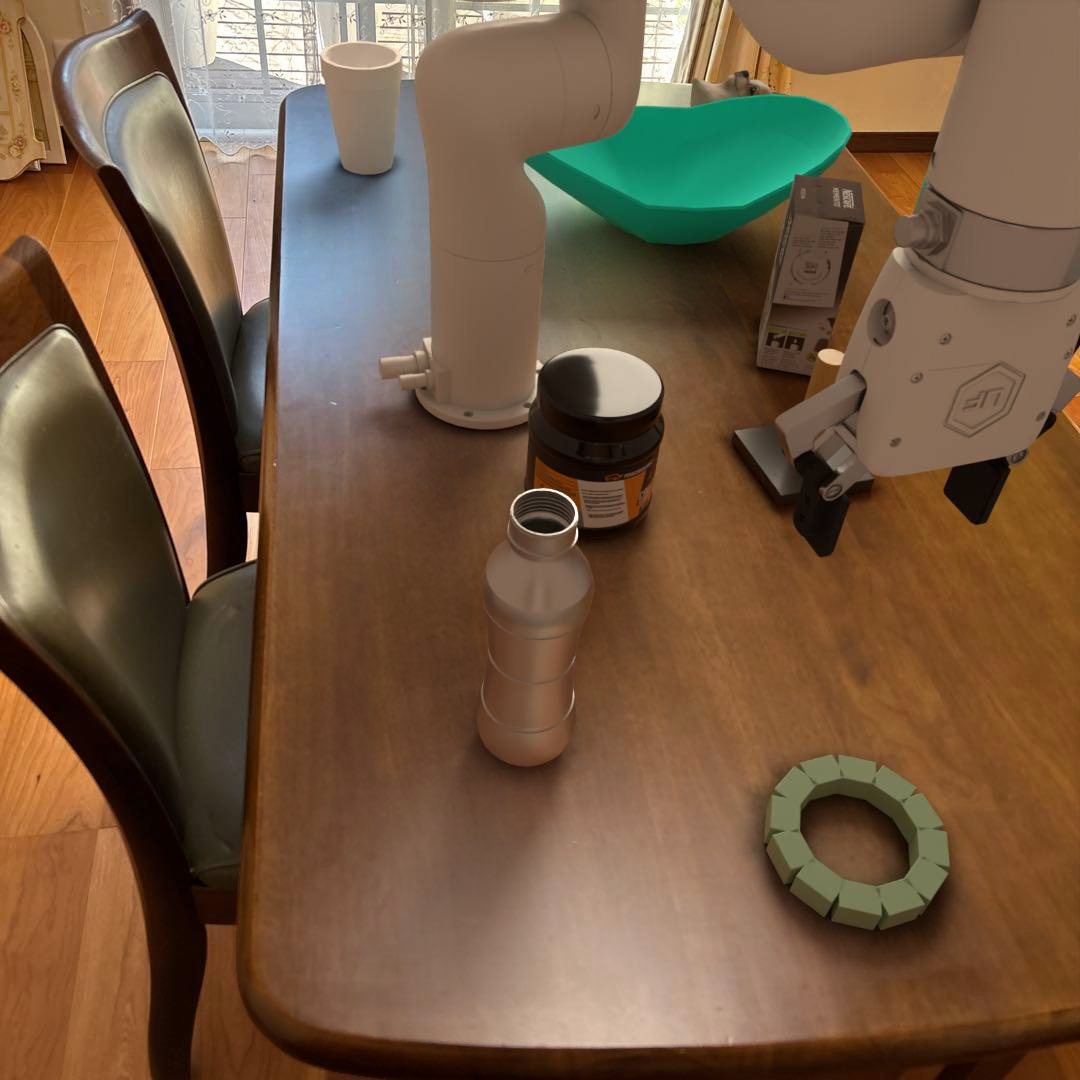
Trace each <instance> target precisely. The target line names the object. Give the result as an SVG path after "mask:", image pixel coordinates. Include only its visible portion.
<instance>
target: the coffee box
mask: <svg viewBox="0 0 1080 1080" xmlns="http://www.w3.org/2000/svg"><path fill="white" fill-rule="evenodd" d="M862 187H863V186H862V182H860V181H855V180H849V179H841V178H834V177H823V176H819V177H811V176H804V175H798V174H795V176H794V181H793V185H792V189H791V193H790V197H789V198H788V202H787V205H786V210H785V214H784V218H783V223H782V227H781V232H780V236H779V240H778V245H777V249H776V253H775V256H774V261H773V266H772V270H771V274H770V278H769V282H768V286H767V292H766V296H765V300H764V303H763V308H762V312H761V316H760V321H759V329H758V340H757V342H758V343H757V355H756V367H758V368H763V369H769V370H775V371H776V370H777V371H781V372H787V373H792V374H797V375H798V374H799V375H805V376H809V377H811V376H812V372H813V369H814V366H815V362H816V359H817V355H818V353H819V352H820V351H821V350H824V349H828V346H829V342H830V339H831V336H832V333H833V330H834V326H835V323H836V320H837V316H838V313H839V310H840V307H841V303H842V301H843V296H844V293H845V290H846V287H847V284H848V280H849V278H850V274H851V270H852V268H853V264H854V261H855V257H856V255H857V252H858V248H859V244H860V241H861V238H862V234H863V231H864V228H865V226H866V215H865V205H864V197H863V189H862Z"/></svg>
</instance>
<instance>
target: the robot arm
mask: <svg viewBox="0 0 1080 1080" xmlns="http://www.w3.org/2000/svg"><path fill="white" fill-rule="evenodd" d="M464 1H465V2H471V3H501V2H512V1H515V0H464ZM558 2H559V3H558V4H559V7H558V8H559V12H553V13H546V14H538V15H531V16H530V15H529V16H526V15H525V16H516V17H509V18H501V19H493V20H485V21H480V22H474V23H468V24H463V25H460V26H458V27H455V28H452V29H449V30H447V31H445V32H442V33H441V34H439V35H437V36H436V37H435V38H433V39H432V40H431V41H430V42H429V43H428V44H427V45H426V47H425V48H424V49H423V50H422V52H421V54H420V56H419V58H418V60H417V62H416V66H415V71H414V80H413V82H414V96H415V97H414V98H415V103H416V104H415V105H416V109H417V115H418V120H419V125H420V130H421V135H422V141H423V147H424V153H425V162H426V169H427V170H426V171H427V183H428V201H429V203H428V205H429V244H430V245H429V247H430V248H429V250H430V251H429V253H430V254H429V255H430V334H431V335H430V336H428V337H423V338H422V349H418V350H413V351H412V354H410V355H402V356H399V355H397V356H388V357H380V358H378V370H379V375H380V378H381V380H383V381H384V380H392V379H398V388H399V390H400V392H404V391H413V390H415V395H416V397H417V400H418V401H419V403H420V404H421V406H422V407H423V408H424V409H425V410H426V411H427V412H429V414H431V415H433V416H434V417H435V418H438V419H439V420H442V421H443V422H445V423H448V424H451V425H454V426H456V427H460V428H461V427H463V428H467V429H471V430H500V429H501V430H502V429H506V428H512V427H515V426H519V425H522V424H523V423H526V422H528V413H529V409H530V406H531V404H532V402H533V400H534V399H535V398H536V393H537V380H538V374H539V372H540V370H541V368H542V367H543V365H544V363H542V362H541V361H540V360H539V359H538V351H539V350H538V347H539V336H540V335H539V334H540V321H541V320H540V319H541V308H542V295H543V293H542V292H543V281H544V267H545V252H546V237H547V225H548V224H547V223H548V222H547V218H548V217H547V208H546V204H545V200H544V198H543V196H542V194H541V192H540V190H539V189H538V188H537V186H536V185H535V183H534V182H533V181H532V180H531V179H530V177H529V176H528V175H527V173H526V170H525V165H524V164H525V160H526V159H527V158H529V157H531V156H534V155H538V154H542V153H545V152H548V151H553V150H558V149H563V148H568V147H573V146H578V145H583V144H588V143H592V142H596V141H600V140H603V139H606V138H609V137H611V136H613V135H615V134H617V133H618V132H619V131H621V130H622V129H623V128H624V127H625V125H626V124H627V123H628V121H629V120H630V118H631V117H632V114H633V112H634V110H635V107H636V106H637V103H638V100H639V96H640V90H641V82H642V73H643V61H644V48H645V35H646V34H645V33H646V32H645V31H646V18H647V5H648V0H558ZM727 2H728V4H729V6H730V7H731V9H732V10H733V12H734V14H735V15H736V17H737V18H738V20H739V22H741V24H742V25H743V27H744V28H745V30H746V31H747V32H748V33H749V34H750V36H751V37H752V38H753V39H754V41H755V42H756V43H757V44H758V46H759V47H760V48H761V49H762V50H763V51H765V52H766V53H767V54H768V55H770V57H772V58H773V59H774V60H776V61H777V62H778V63H780V64H782V65H783V66H785V67H787V68H790V69H791V70H795V71H797V72H801V73H804V74H808V75H819V76H829V75H837V74H843V73H851V72H855V71H860V70H866V69H871V68H875V67H881V66H887V65H892V64H897V63H903V62H908V61H913V60H921V59H923V60H924V59H925V60H926V59H935V58H949V57H950V58H952V57H961V56H962V59H961V62H960V65H959V68H958V72H957V75H956V78H955V82H954V83H953V84H954V85H953V88H952V91H951V94H950V98H949V101H948V103H947V107H946V110H945V112H944V117H943V119H942V123H941V126H940V129H939V132H938V136H937V138H936V141H935V144H934V147H933V151H932V154H931V157H930V160H929V164H928V166H927V170H926V172H925V175H924V178H923V180H922V185H921V186H920V187H921V188H920V191H919V193H918V197H917V200H916V203H915V206H914V209H913V212H912V213H910V214H904V215H901V216H898V217H897V219H896V220H895V223H894V225H893V230H892V234H893V240H894V242H895V244H896V246H897V247H894V248H893V250H892V251H891V253H890V255H889V256H888V257H887V260H886V262H885V264H884V265H883V267H882V268H881V269H882V270H881V271H880V273H879V275H878V277H877V279H876V281H875V283H874V285H873V287H872V289H871V290H870V293H869V294H868V297H867V299H866V301H865V304H864V306H863V307H862V310H861V313H860V314H859V316H858V319H857V321H856V324H855V326H854V329H853V332H852V333H851V336H850V338H849V341H848V344H847V346H846V349H845V352H844V357H843V360H842V363H841V366H840V369H839V372H838V375H837V378H836V381H835V384H833V385H831V386H829V387H828V388H826V389H824V390H822V391H821V392H819V393H817V394H815V395H814V396H812V397H810V398H808V399H807V400H805V401H804V400H803V401H801V402H800V403H798V404H796V405H795V406H793V407H791V408H789V409H788V410H785V411H784V412H782V413H781V414H779V415H778V416H777V417H776V418H775V420H774V423H773V425H774V426H775V429H776V432H777V435H778V438H779V441H780V444H781V446H782V447H783V448H782V453H783V454H784V456H785V457H786V458H787V459H788V461H789V462H790V463H791V464H792V466H793V467H794V468H795V469H796V471H797V472H798V473H799V474H800V475H801V476H802V477H803V478H804V479H803V483H802V486H801V489H800V493H799V496H798V500H797V503H795V507H794V510H793V514H792V522H793V527H794V528H795V530H796V531H797V533H798V534H799V535H800V537H802V538H803V539H805V541H806V543H808V545H809V547H811V549H812V551H814V553H815V554H816V556H817V557H818V558H820V559H821V558H827V557H830V556H832V553H834V551H835V549H836V545H837V543H838V541H839V537H840V534H841V532H842V529H843V525H844V523H845V520H846V517H847V514H848V511H849V508H850V504H851V501H850V498H849V497H848V495H847V494H845V493H844V492H845V491H847V490H848V489H849V488H850V487H851V486H852V485H853V484H854V483H855V482H856V481H857V480H859V479H860V478H861V477H862V476H863V475H864V474H865V473H866V472H867V471H869V473H870V474H871V475H872V476H873V475H874V476H877V477H883V478H892V477H893V478H894V477H895V478H896V477H903V476H909V475H915V474H921V473H925V472H931V471H938V470H943V469H947V468H951V469H950V472H949V474H948V477H947V478H946V482H945V484H944V486H943V490H942V492H943V495H944V496H945V497H946V498H947V499H948V500H949V502H951V503H952V505H954V507H955V508H956V509H957V510H958V511H959V513H961V515H963V516H964V517H965V518H966V519H967V521H968V522H969V523H971V524H972V525H974V526H979V525H984V524H987V522H988V521H989V518H990V516H991V514H992V512H993V510H994V508H995V506H996V503H997V501H998V499H999V497H1000V495H1001V493H1002V492H1003V488H1004V486H1005V485H1006V482H1007V480H1008V478H1009V476H1010V474H1011V472H1012V469H1011V468H1010V466H1011V467H1015V466H1018V465H1020V464H1022V463H1023V462H1025V460H1026V459H1027V458H1028V456H1029V455H1030V450H1029V449H1030V448H1029V447H1030V446H1032V445H1033V444H1034V442H1035V441H1037V440H1038V439H1039V438H1040V437H1041V436H1043V435H1044V434H1046V433H1047V432H1048V431H1049V430H1051V429H1052V428H1053V427H1054V425H1055V424H1056V422H1057V417H1058V416H1057V413H1061V412H1062V411H1064V409H1065V408H1066V407H1067V406H1068V405H1069V403H1070V402H1072V401H1073V399H1074V398H1075V397H1076V396H1077V395H1078V394H1079V393H1080V376H1079V375H1078V374H1077V373H1075V372H1074V371H1073V370H1072V369H1071V368H1070V367H1069V366H1070V363H1071V360H1072V358H1073V355H1074V352H1075V350H1076V347H1077V343H1078V340H1079V337H1080V0H727ZM827 428H828V429H827ZM826 429H827V430H826ZM824 430H826V431H825V432H824V433H823V434H822V435H821V436H820V437H819V438H818V439H817V440H816V441H814V439H815V437H816V436H817V435H818V434H819V433H821V432H822V431H824ZM845 444H846V445H847V447H848V448H849V449H850V450H851V451H852V452H853V453H852V454H851V455H850V456H849V457H848V458H847V459H846V460H845V461H844V462H843V463H842V464H841V465H840V466H838V467H837V468H836V469H835V470H833V469H832V468H831V467H830V466H829V464H828V463H827V462H826V461H828V460H829V459H830V458H831V457H832V456H833V455H834V454H835V453H836V452H837V451H838V450H839V449H840V448H841V447H842V446H844V445H845Z"/></svg>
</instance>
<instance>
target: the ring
mask: <svg viewBox="0 0 1080 1080" xmlns="http://www.w3.org/2000/svg"><path fill="white" fill-rule="evenodd" d="M916 790H917V786H916V785H914V784H913V783H912V782H909V781H908V780H907V779H905V778H904V777H902V776H901V775H899V774H897V773H896V772H894V771H893V770H891V769H890V768H889V767H887V766H885V765H884V764H883V765H881V767H880V768H879V769H878V770H877V762H876V761H872V760H868V759H862V758H858V757H853V756H849V755H844V754H838V755H837V758H835V756H834V755H833V754H828V755H824V756H821V757H816V758H811V759H808V760H805V761H801V762H799V763H798V766H792V767H791V769H790V770H789V771H788V772H787V773H786V775H785V776H784V777H783V778H782V779H781V780H780V781H779V783H778V784H777V785H776V786H775V787H774V789H773V790H772V794H771V797H770V798H769V801H768V803H767V806H766V808H765V816H764V836H763V843H764V844H766V845H767V846H766V849H765V851H766V853H767V856H768V857H769V859H770V861H771V863H772V865H773V866H774V869H775V870H776V873H777V874H778V876H779V878H780V880H781V882H782V883H783V885H788V884H791V883H792V884H791V886H790V888H789V892H790V893H791V894H793V895H794V896H795V897H796V898H798V899H799V900H800V901H801V902H803V903H804V904H805V905H807V906H808V907H809V908H810V909H812V910H813V911H815V912H816V913H818V915H820V916H821V917H823V918H825V917H826V916H827V914H828V913H829V912H830V911H831V913H830V915H831V917H830V919H831V922H833V923H838V924H841V925H842V924H843V925H846V926H850V927H851V926H852V927H855V928H861V929H864V930H869V931H874V930H875V928H876V926H877V927H878V928H879V930H880V931H883V930H887V929H890V928H892V927H895V926H896V927H897V926H899V925H901V924H905V923H908V922H912V921H915V920H916V919H917V917H918V916H919V915H920V916H922V915H923V914H924V912H925V910H926V909H927V907H928V906H929V905H930V903H931V901H932V900H933V899H934V897H935V895H936V894H937V893H938V891H939V890H940V888H941V887H942V885H943V883H944V882H945V880H946V879H947V877H948V876H949V872H948V871H949V869H950V868H951V862H950V852H949V841H948V832H947V831H943V828H944V826H945V825H944V822H942V820H941V818H940V817H939V816H938V814H937V812H936V811H935V809H934V808H933V807H932V805H931V803H930V802H929V801H928V799H927V798H926V796H925V795H924V793H918V794H915V792H916ZM835 794H836V795H841V796H845V797H850V798H855V799H860V800H863V801H864V800H865V801H866V802H868V803H869V804H870V805H872V806H873V807H875V808H876V809H878V810H879V811H880V812H882V813H884V814H885V815H887V816H888V817H889V818H891V819H892V821H893V822H894V824H895V826H896V827H897V829H898V830H899V831H900V833H901V835H902V836H903V838H904V839H905V841H906V842H907V844H908V862H909V871H908V872H907V873H906V875H905V876H904V878H901V879H897V880H894V881H890V882H889V883H888V882H887V883H883V884H881V885H877V886H875V885H871V884H867V883H862V882H857V881H853V880H848V879H844V878H842V877H841V876H839V875H838V874H837V873H835V872H834V871H833V870H831V869H830V868H829V867H827V866H826V865H825V864H823V862H821V861H820V860H818V859H817V858H815V855H814V854H813V852H812V851H811V848H810V847H809V845H808V843H807V841H806V839H805V838H804V835H803V834H802V832H801V813H802V811H803V810H804V808H805V807H806V806H807V805H808V804H809V802H810V801H813V800H817V799H820V798H825V797H828V796H832V795H835Z"/></svg>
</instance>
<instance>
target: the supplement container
mask: <svg viewBox="0 0 1080 1080" xmlns="http://www.w3.org/2000/svg"><path fill="white" fill-rule="evenodd" d="M664 397H665V384H664V381H663V378H662V377H661V375H660V373H658V371H657V370H656V369H655V368H654V367H653V366H652V365H651V364H650V363H648V362H647V361H645V360H644V359H642V358H641V357H638V356H637V355H634V354H631V353H629V352H626V351H623V350H618V349H615V348H610V347H600V346H588V347H578V348H573V349H569V350H566V351H562V352H560V353H558V354H556V355H554V356H553V357H550V359H548V360H547V361H546V362H545V363H543V367H542V368H541V370H540V372H539V374H538V380H537V393H536V398H535V399H534V400H533V402H532V404H531V406H530V409H529V413H528V421H527V426H528V437H527V451H526V465H525V476H524V481H523V493H524V492H526V491H529V490H533V489H551V490H555V491H558V492H561V493H563V494H564V495H566V496H568V497H569V498H570V499H571V500H572V501H573V502H574V503H575V505H576V507H577V511H578V523H577V529H578V538H579V539H587V540H589V539H590V540H591V539H592V540H595V539H596V540H597V539H606V538H611V537H615V536H619V535H622V534H624V533H626V532H628V531H630V530H632V529H633V528H635V527H636V525H638V524H639V523H640V522H642V520H643V519H644V517H645V516H646V515H647V514H648V511H649V509H650V506H651V503H652V499H653V498H652V497H653V486H654V480H655V476H656V475H655V474H656V471H657V470H656V469H657V465H658V459H659V453H660V447H661V445H662V443H663V438H664V436H665V429H666V427H665V419H664V418H665V417H664V415H663V413H662V409H663V404H664Z"/></svg>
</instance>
